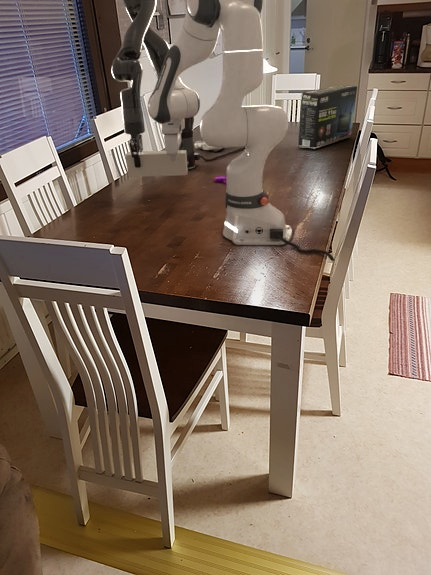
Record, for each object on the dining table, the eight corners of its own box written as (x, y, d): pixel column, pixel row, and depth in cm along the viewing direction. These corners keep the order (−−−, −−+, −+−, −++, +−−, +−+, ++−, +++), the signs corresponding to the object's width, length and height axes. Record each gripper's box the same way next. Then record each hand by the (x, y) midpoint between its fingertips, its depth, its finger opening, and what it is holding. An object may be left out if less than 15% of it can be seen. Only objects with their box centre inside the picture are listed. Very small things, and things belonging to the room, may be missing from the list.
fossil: (218, 146, 231) (198, 127, 234) (207, 163, 238) (188, 145, 241) (236, 144, 245) (217, 126, 248) (226, 160, 252) (207, 143, 255)
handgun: (214, 180, 197) (213, 176, 196) (231, 178, 198) (231, 174, 197) (224, 196, 180) (223, 191, 179) (243, 193, 181) (242, 189, 180)
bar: (187, 171, 181) (186, 150, 177) (186, 175, 177) (185, 153, 173) (130, 173, 182) (127, 151, 178) (128, 176, 178) (125, 155, 174)
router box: (314, 151, 231) (318, 94, 217) (296, 148, 237) (299, 92, 224) (352, 138, 251) (358, 85, 238) (335, 135, 258) (340, 83, 245)
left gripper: (126, 115, 175) (132, 160, 184) (119, 123, 163) (126, 171, 172) (146, 115, 175) (151, 159, 184) (140, 123, 163) (145, 170, 172)
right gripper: (167, 117, 179) (170, 153, 186) (160, 130, 161) (164, 169, 168) (183, 117, 178) (185, 153, 186) (178, 129, 161) (181, 168, 168)
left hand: (139, 165), depth 178 cm, fingers closed on bar, 4 cm apart
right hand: (175, 160), depth 177 cm, fingers open, 8 cm apart
